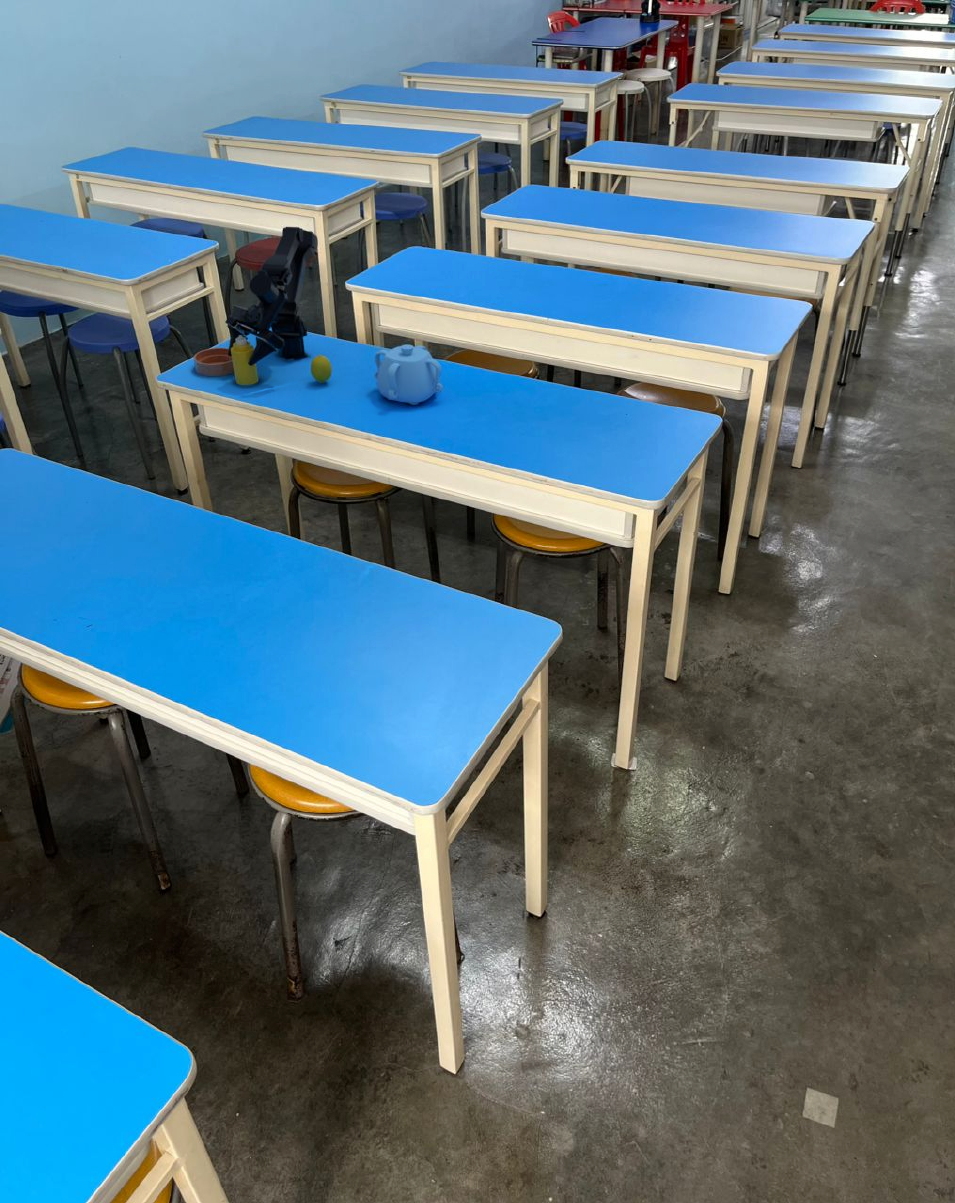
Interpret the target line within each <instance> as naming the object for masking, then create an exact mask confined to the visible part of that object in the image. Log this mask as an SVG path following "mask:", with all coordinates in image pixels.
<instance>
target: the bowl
mask: <svg viewBox="0 0 955 1203" xmlns="http://www.w3.org/2000/svg"><path fill="white" fill-rule="evenodd" d="M228 350H229V347H213V348H212V347H211V348H206V349H203V350H201V351H198V352H197V353H195V354H194V356H193V363H194V368H195V372H196V373H197V374H198V375H201V376H206V377H223V376H224V377H225V376H228V375H231V374H235V373H234V367H233V361H232V357H230V356H229V355H228Z"/></svg>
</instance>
